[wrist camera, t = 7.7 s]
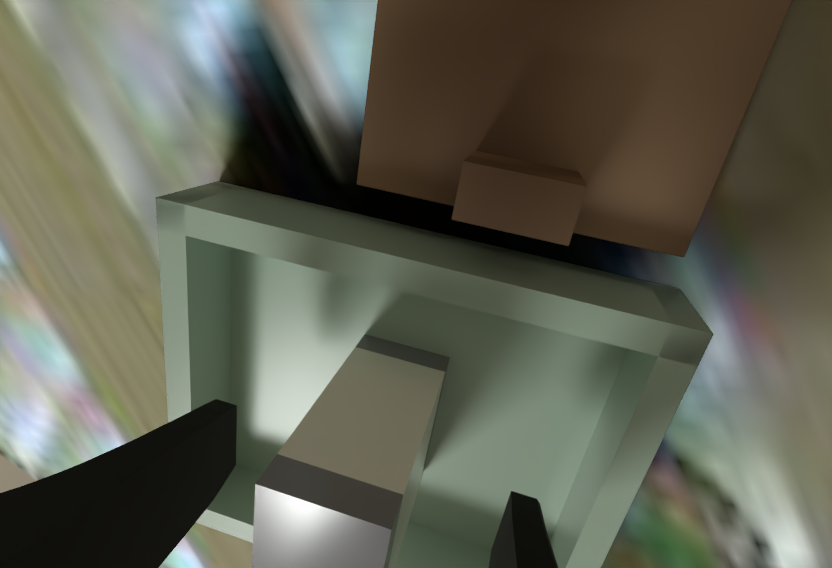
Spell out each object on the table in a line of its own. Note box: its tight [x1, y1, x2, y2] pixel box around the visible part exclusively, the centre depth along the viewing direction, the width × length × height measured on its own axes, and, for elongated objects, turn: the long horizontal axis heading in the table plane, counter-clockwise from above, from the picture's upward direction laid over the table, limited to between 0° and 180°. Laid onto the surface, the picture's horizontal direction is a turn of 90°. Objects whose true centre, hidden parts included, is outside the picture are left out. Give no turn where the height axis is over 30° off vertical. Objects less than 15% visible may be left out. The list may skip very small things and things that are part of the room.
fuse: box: [252, 334, 450, 568], centre depth 12 cm, size 3×4×6 cm, turn 171°
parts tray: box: [156, 181, 713, 568], centre depth 14 cm, size 13×11×2 cm
